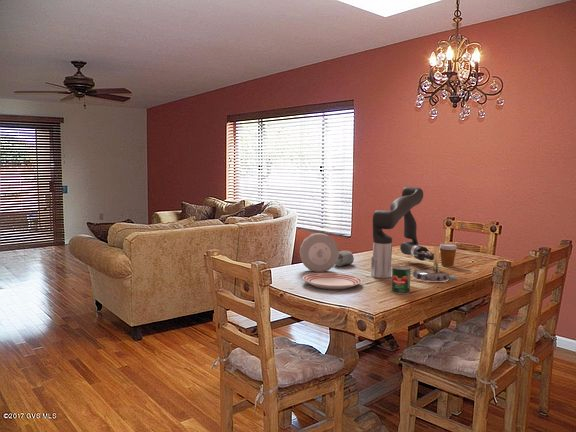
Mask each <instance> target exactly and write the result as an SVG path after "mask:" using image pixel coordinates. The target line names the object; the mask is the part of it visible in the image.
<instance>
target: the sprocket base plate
mask: <svg viewBox="0 0 576 432" xmlns="http://www.w3.org/2000/svg"><path fill="white" fill-rule="evenodd" d="M412 279H413V280H415V281H417V280H418V282H422V281H423V282H422V283H428V282H444V283H447V282H446V281H448V280H450V279H449V278H448V280H443V281H438V280H435V281H430V280H421V279H420V278H418V279H417V278H415V277H413V276H412ZM448 282H449V281H448Z"/></svg>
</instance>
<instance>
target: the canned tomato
mask: <svg viewBox="0 0 576 432" xmlns="http://www.w3.org/2000/svg"><path fill="white" fill-rule="evenodd" d="M411 269H412V268H411V267H410V266H407V265H391V293H394V294H398V295H407V294H410V292H411Z"/></svg>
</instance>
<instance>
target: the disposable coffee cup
mask: <svg viewBox="0 0 576 432" xmlns="http://www.w3.org/2000/svg"><path fill="white" fill-rule="evenodd" d="M438 247H439V255H440V263H441V265H443V266H442V267H444V266H453V267H454V265H455V264H454V263H455V259H456V258H455V257H456V251H457V249H458V247H457V244H453V243H440V244H439V246H438Z"/></svg>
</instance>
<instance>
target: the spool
mask: <svg viewBox="0 0 576 432" xmlns="http://www.w3.org/2000/svg"><path fill="white" fill-rule="evenodd" d="M354 260H355V257H354V254H353V252H352V251H350V250H340V251H339V256H338V260H337V262H336V264H335V265H334V266H336V267H338V268H339V267H343V266H348V265H351V264H353V263H354Z"/></svg>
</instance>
